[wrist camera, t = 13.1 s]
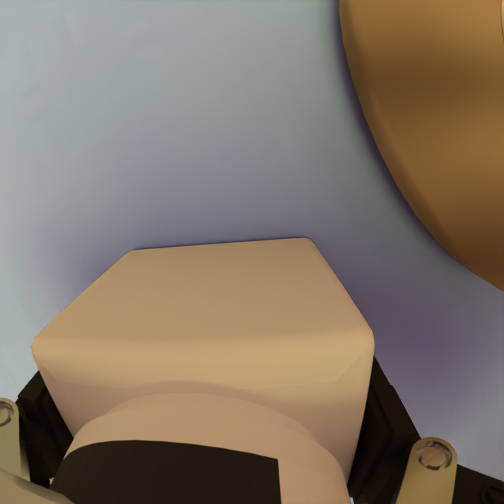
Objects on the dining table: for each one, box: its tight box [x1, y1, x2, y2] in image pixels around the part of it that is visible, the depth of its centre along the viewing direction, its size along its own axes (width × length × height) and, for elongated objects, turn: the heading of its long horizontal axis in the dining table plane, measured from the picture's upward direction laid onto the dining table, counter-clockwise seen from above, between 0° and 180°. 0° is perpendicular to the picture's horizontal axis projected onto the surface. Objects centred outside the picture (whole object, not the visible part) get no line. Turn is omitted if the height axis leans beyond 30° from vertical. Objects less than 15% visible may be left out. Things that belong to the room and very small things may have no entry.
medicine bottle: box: [31, 238, 375, 504], centre depth 7 cm, size 7×7×12 cm
